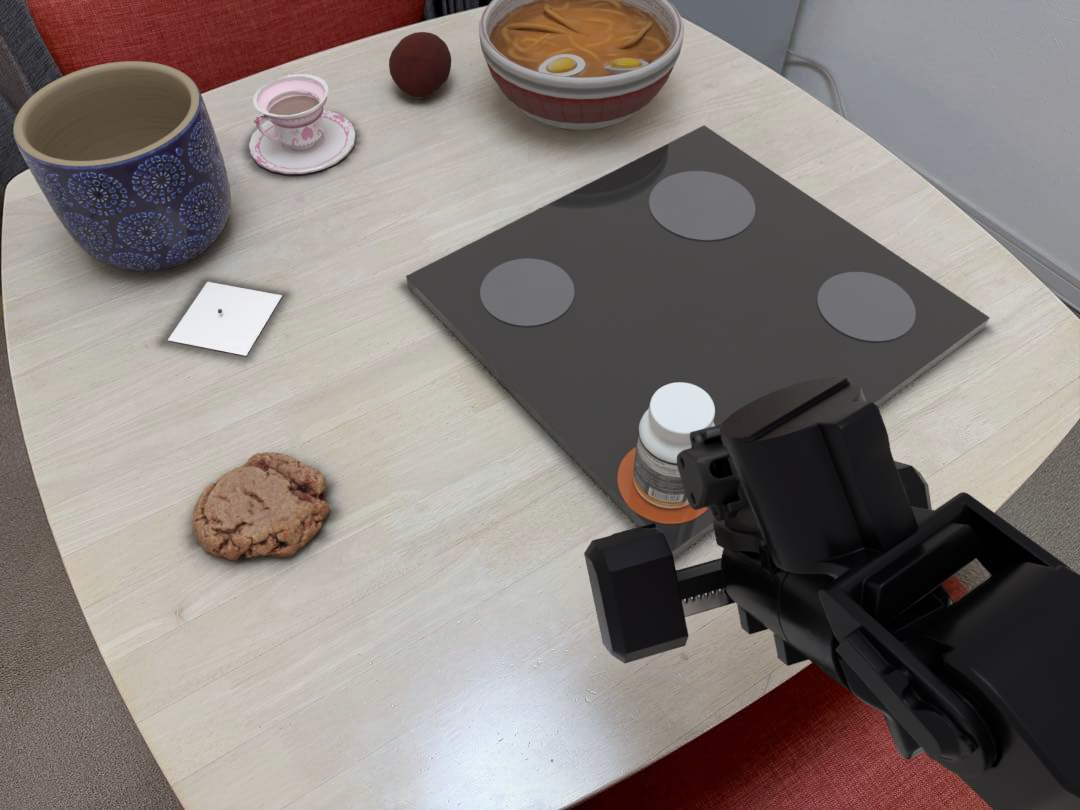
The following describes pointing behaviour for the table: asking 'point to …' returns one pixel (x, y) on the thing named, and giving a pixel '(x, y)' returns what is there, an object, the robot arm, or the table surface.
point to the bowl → (580, 56)
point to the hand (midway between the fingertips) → (705, 521)
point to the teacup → (298, 126)
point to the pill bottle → (668, 441)
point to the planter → (128, 163)
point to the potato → (420, 64)
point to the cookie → (261, 508)
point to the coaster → (225, 318)
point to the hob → (684, 305)
